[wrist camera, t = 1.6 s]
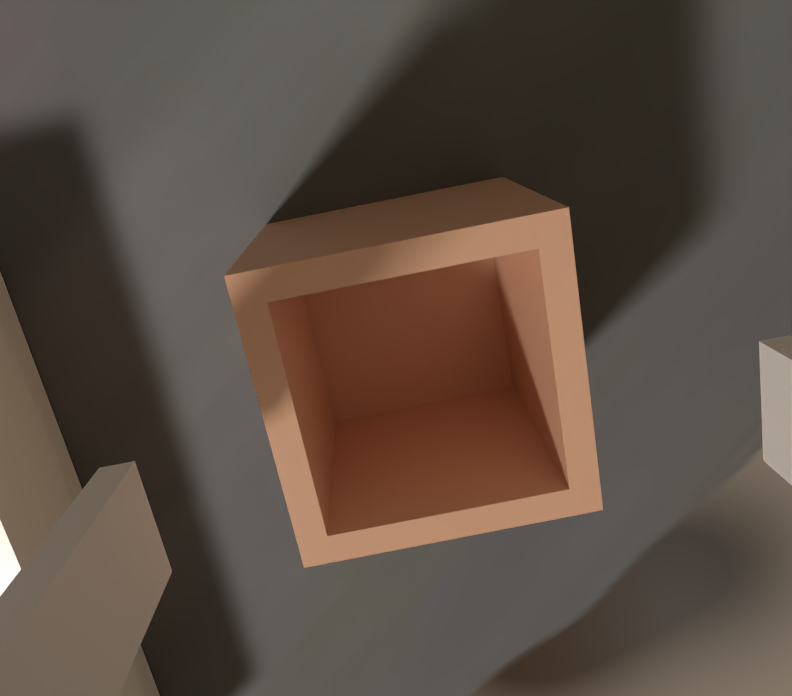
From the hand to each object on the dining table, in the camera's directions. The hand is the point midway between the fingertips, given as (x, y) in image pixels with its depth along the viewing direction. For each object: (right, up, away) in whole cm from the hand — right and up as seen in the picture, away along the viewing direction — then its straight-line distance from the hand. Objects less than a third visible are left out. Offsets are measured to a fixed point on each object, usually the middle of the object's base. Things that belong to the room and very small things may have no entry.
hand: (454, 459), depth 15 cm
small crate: (-1, +4, +10) cm, 11 cm away
